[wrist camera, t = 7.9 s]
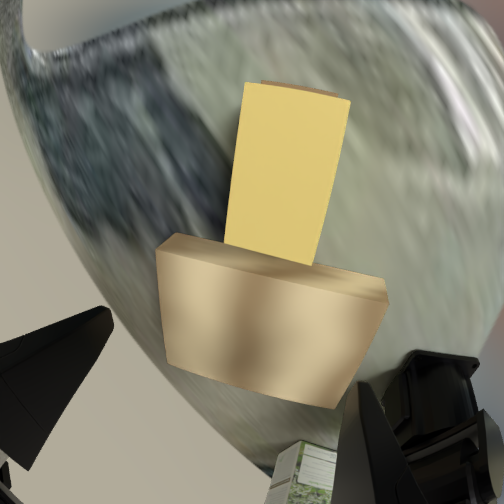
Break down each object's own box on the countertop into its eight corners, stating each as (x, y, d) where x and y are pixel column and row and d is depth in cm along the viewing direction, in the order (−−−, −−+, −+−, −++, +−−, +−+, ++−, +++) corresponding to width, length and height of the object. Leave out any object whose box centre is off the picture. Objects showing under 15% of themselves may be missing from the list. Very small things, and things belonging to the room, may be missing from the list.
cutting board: (383, 278, 16) (389, 303, 14) (336, 384, 21) (334, 409, 18) (176, 232, 18) (155, 249, 16) (181, 342, 23) (167, 363, 21)
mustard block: (317, 230, 16) (346, 101, 12) (311, 265, 13) (351, 96, 9) (248, 213, 17) (268, 86, 13) (224, 243, 13) (245, 77, 10)
